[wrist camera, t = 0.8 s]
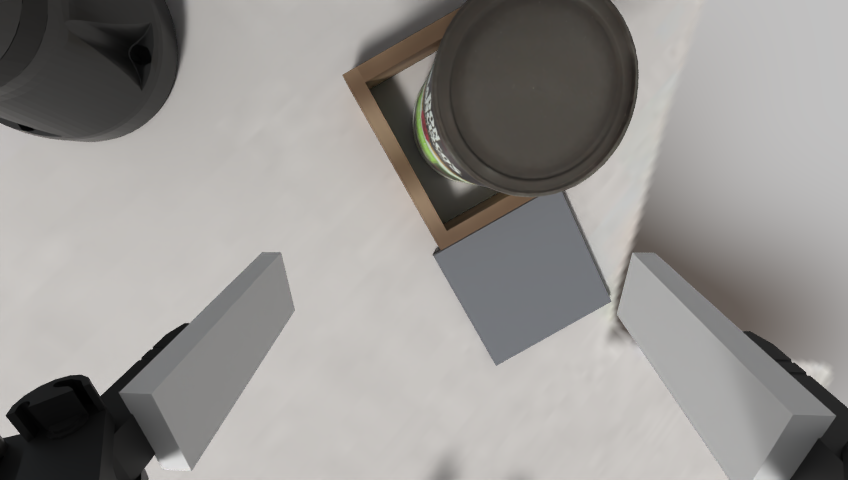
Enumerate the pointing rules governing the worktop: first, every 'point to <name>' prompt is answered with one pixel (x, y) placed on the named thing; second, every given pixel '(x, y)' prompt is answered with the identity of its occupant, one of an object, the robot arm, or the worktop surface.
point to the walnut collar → (360, 87)
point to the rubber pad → (524, 276)
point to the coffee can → (527, 94)
